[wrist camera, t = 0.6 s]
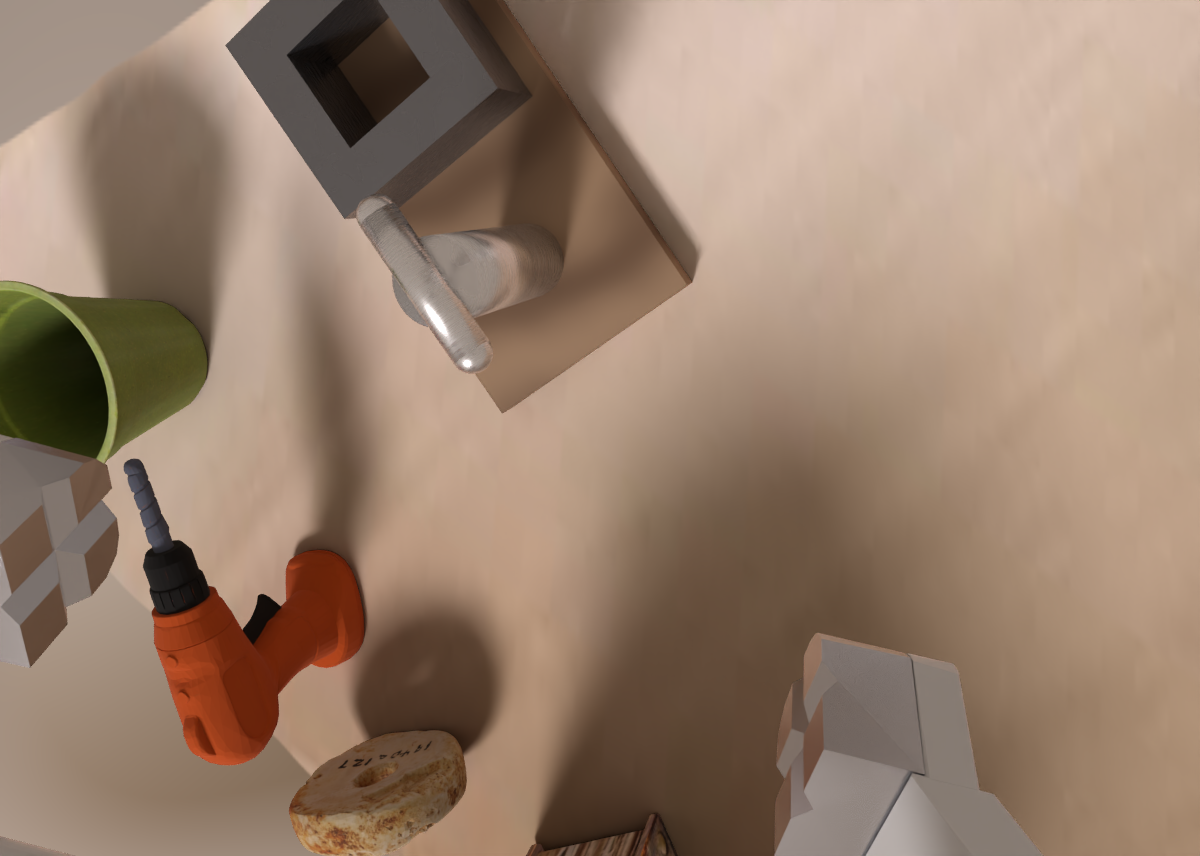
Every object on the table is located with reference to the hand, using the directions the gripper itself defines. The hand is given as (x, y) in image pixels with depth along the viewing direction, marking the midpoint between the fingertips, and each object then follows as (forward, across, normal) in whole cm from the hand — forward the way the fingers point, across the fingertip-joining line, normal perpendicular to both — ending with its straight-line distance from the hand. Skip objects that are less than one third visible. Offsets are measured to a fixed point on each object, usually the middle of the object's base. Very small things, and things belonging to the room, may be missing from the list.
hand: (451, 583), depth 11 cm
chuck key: (+41, +7, +16) cm, 44 cm away
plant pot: (+42, +30, +30) cm, 60 cm away
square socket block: (+45, +15, +9) cm, 48 cm away
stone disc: (+32, +8, +49) cm, 59 cm away
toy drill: (+38, +18, +38) cm, 56 cm away
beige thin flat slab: (+44, +11, +13) cm, 47 cm away
